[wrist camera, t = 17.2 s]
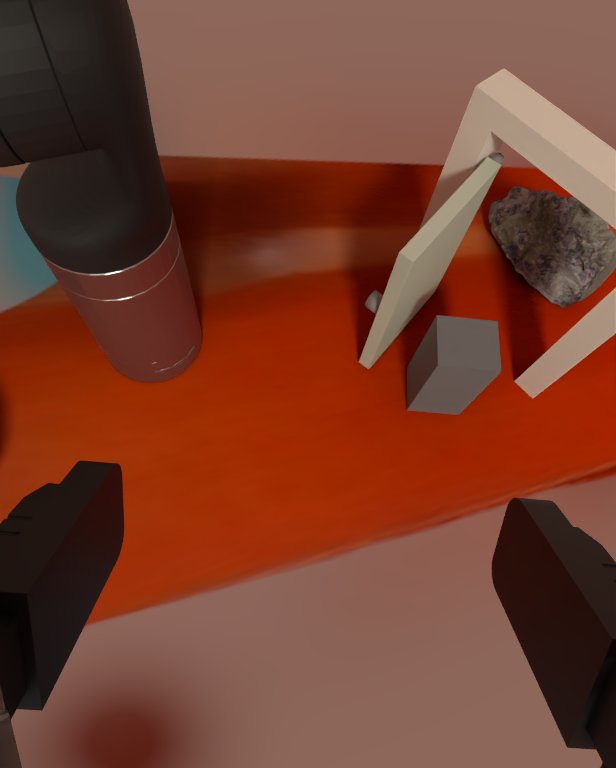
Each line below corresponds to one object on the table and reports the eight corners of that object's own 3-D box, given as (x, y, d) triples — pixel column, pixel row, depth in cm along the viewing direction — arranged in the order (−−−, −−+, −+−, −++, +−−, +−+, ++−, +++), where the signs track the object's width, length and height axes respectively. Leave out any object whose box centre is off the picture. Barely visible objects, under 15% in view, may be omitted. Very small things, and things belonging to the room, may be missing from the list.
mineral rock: (478, 216, 60) (516, 144, 50) (566, 213, 61) (619, 142, 52) (506, 313, 55) (554, 253, 45) (602, 308, 56) (667, 248, 47)
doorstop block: (458, 415, 50) (501, 371, 40) (406, 410, 49) (438, 365, 40) (456, 372, 51) (497, 321, 42) (406, 367, 51) (436, 315, 42)
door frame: (400, 275, 56) (475, 85, 35) (420, 260, 56) (503, 68, 36) (532, 398, 51) (706, 261, 31) (551, 380, 52) (731, 236, 32)
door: (419, 272, 55) (478, 140, 40) (439, 285, 55) (508, 157, 39) (347, 353, 51) (382, 241, 35) (368, 369, 50) (413, 262, 35)
